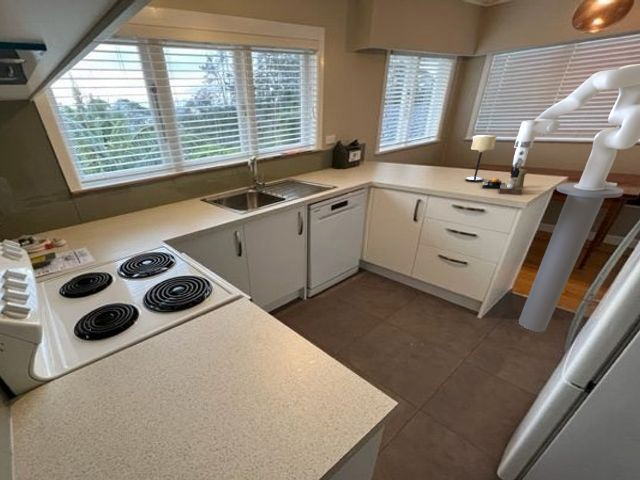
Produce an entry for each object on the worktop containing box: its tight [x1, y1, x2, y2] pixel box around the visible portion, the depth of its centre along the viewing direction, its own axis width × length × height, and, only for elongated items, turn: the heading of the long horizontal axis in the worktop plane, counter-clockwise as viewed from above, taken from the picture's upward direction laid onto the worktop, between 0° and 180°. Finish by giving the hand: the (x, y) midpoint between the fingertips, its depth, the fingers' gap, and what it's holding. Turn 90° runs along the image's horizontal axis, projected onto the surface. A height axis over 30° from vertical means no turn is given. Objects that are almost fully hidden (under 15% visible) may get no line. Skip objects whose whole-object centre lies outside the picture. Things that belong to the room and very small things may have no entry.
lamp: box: [465, 134, 498, 183], centre depth 199 cm, size 12×12×29 cm
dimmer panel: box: [498, 184, 523, 196], centre depth 175 cm, size 10×9×3 cm
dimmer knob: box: [506, 177, 518, 188], centre depth 173 cm, size 4×4×6 cm
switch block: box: [482, 179, 506, 190], centre depth 187 cm, size 11×9×4 cm
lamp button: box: [491, 177, 500, 182], centre depth 186 cm, size 4×4×2 cm
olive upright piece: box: [516, 168, 528, 189], centre depth 181 cm, size 6×6×11 cm
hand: (513, 175), depth 172 cm, fingers open, 9 cm apart
